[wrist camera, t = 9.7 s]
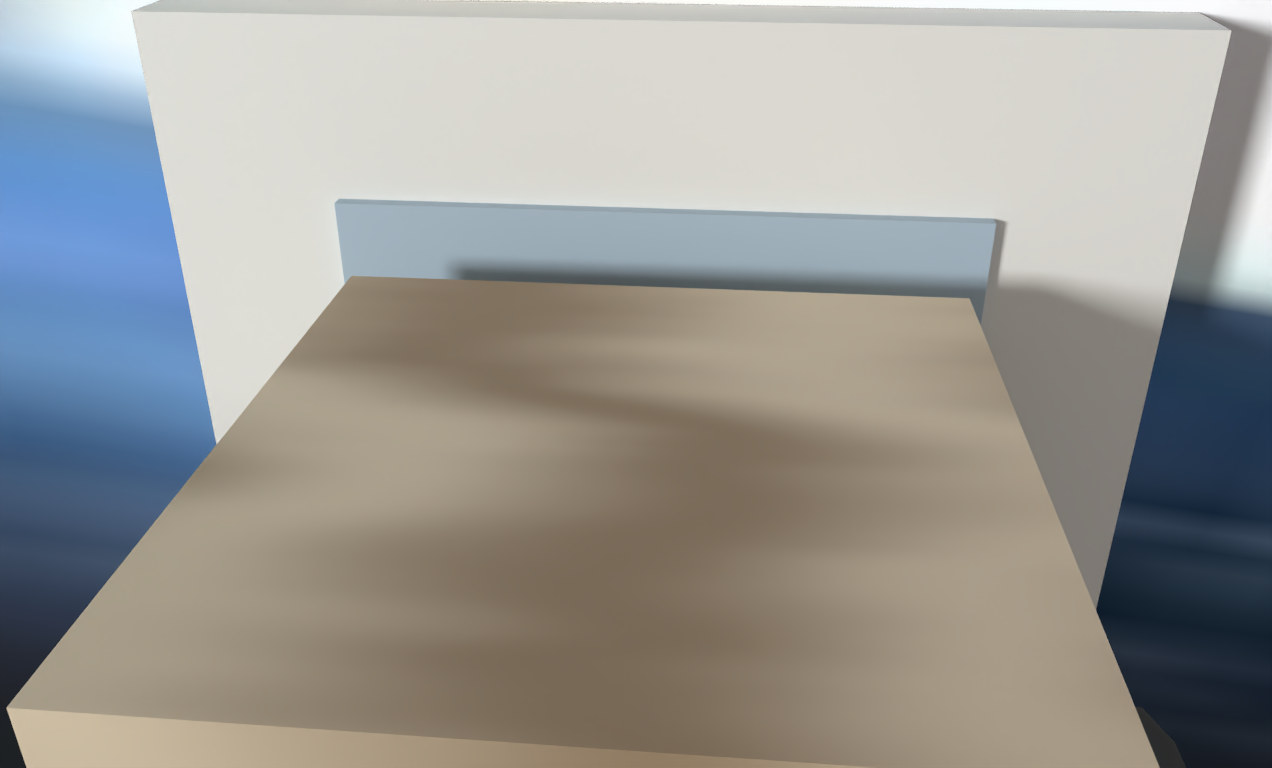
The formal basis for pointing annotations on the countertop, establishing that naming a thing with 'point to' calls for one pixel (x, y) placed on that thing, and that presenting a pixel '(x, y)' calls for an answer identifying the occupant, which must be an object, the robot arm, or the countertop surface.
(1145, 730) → the robot arm
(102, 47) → the countertop surface
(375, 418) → the wooden cube
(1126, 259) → the white flat square slab
